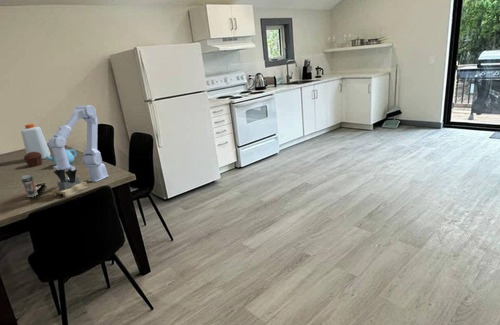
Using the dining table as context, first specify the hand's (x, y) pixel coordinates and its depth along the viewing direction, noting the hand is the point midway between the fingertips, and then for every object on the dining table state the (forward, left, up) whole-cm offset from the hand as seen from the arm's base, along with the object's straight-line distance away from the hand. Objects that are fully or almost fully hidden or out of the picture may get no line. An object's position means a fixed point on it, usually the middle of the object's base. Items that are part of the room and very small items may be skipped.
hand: (68, 182), depth 175 cm
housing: (0, 0, -2) cm, 2 cm away
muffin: (-35, -84, -6) cm, 91 cm away
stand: (0, 0, -5) cm, 5 cm away
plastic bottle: (-50, -101, -6) cm, 113 cm away
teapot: (-39, -57, -6) cm, 69 cm away
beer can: (+10, -18, -6) cm, 21 cm away
